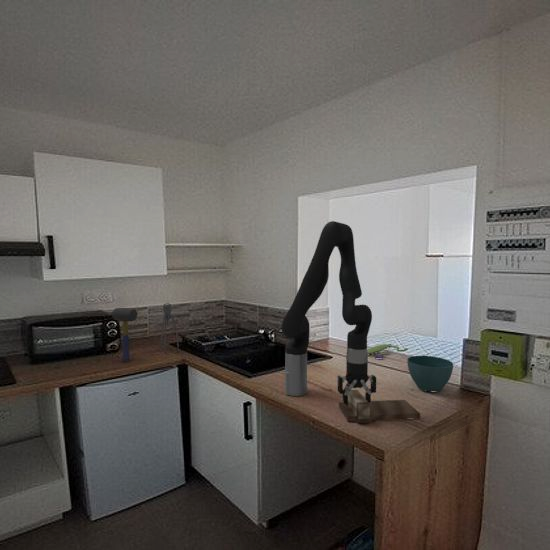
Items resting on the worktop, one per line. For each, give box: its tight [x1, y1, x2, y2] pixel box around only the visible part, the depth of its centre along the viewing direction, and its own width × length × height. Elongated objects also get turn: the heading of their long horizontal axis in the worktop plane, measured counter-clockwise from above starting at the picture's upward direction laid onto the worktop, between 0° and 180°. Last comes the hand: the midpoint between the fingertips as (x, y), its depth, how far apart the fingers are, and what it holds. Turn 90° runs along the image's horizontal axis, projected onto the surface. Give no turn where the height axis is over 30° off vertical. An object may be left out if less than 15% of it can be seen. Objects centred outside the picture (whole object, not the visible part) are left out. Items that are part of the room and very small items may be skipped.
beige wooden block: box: [347, 389, 371, 424], centre depth 129 cm, size 4×14×6 cm, turn 5°
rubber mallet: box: [111, 307, 138, 362], centre depth 198 cm, size 12×8×30 cm, turn 70°
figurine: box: [367, 343, 409, 359], centre depth 209 cm, size 18×27×6 cm
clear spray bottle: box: [160, 302, 180, 355], centre depth 217 cm, size 10×11×30 cm
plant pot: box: [406, 355, 454, 392], centre depth 154 cm, size 18×18×12 cm
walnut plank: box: [338, 399, 421, 422], centre depth 131 cm, size 26×12×2 cm, turn 95°
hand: (356, 404), depth 130 cm, fingers open, 7 cm apart
